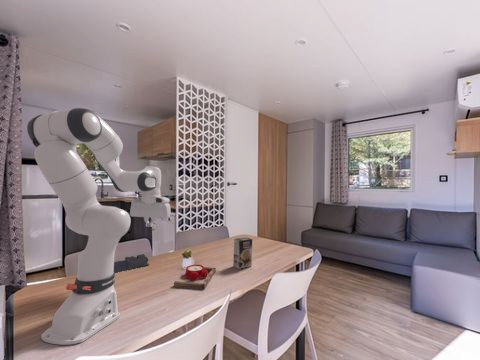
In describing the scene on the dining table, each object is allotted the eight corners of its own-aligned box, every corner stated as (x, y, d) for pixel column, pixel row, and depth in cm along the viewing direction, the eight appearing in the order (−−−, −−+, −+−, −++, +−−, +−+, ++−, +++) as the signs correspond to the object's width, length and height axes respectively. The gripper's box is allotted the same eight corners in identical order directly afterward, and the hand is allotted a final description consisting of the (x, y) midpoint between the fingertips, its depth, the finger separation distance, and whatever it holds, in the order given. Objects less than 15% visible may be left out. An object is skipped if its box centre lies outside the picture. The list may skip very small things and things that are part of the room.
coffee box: (239, 269, 132) (240, 240, 132) (232, 266, 137) (233, 238, 137) (252, 266, 137) (252, 239, 137) (245, 263, 142) (246, 236, 143)
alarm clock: (199, 263, 130) (211, 264, 118) (199, 275, 129) (212, 278, 117) (181, 266, 125) (192, 268, 113) (181, 278, 123) (193, 282, 111)
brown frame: (204, 289, 106) (204, 285, 106) (173, 286, 108) (173, 282, 108) (215, 271, 128) (215, 267, 128) (189, 269, 130) (190, 266, 130)
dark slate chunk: (101, 267, 131) (102, 258, 131) (141, 259, 146) (141, 251, 146) (110, 275, 120) (110, 266, 120) (152, 266, 135) (152, 257, 135)
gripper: (128, 197, 116) (126, 226, 115) (167, 199, 113) (165, 228, 112) (135, 197, 122) (133, 224, 121) (172, 199, 119) (171, 226, 118)
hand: (149, 226), depth 117 cm, fingers closed
